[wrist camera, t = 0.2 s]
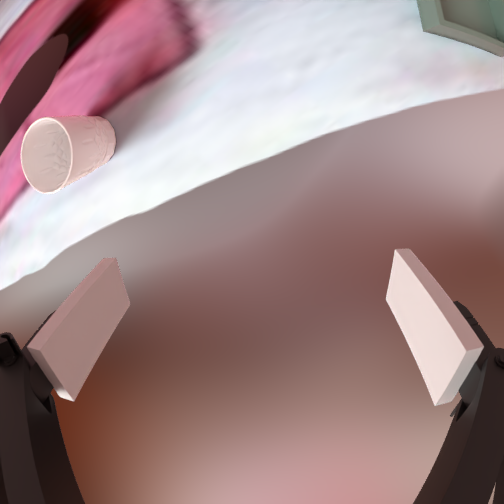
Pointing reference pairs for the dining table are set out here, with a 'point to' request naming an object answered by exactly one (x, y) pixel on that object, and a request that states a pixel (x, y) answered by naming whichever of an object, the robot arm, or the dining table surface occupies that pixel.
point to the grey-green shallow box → (466, 22)
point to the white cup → (65, 150)
